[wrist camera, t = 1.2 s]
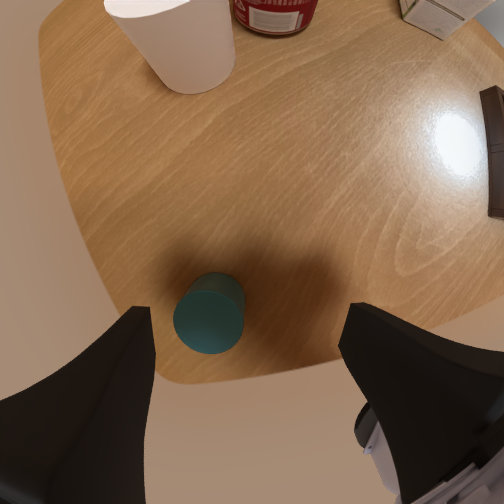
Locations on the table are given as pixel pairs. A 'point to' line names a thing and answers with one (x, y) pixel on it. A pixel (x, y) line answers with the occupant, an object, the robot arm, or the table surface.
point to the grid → (495, 147)
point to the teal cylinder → (211, 314)
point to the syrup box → (441, 14)
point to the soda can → (275, 15)
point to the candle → (180, 39)
